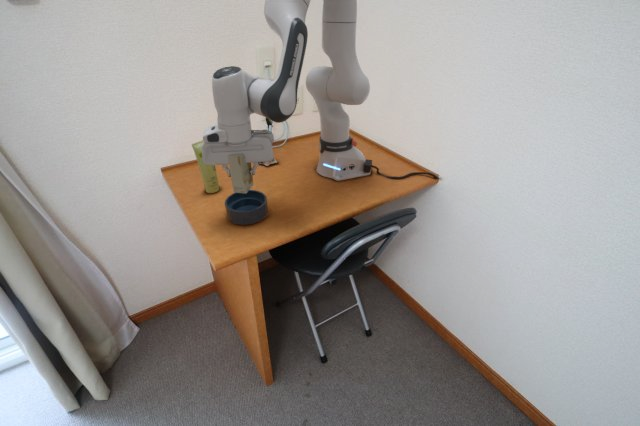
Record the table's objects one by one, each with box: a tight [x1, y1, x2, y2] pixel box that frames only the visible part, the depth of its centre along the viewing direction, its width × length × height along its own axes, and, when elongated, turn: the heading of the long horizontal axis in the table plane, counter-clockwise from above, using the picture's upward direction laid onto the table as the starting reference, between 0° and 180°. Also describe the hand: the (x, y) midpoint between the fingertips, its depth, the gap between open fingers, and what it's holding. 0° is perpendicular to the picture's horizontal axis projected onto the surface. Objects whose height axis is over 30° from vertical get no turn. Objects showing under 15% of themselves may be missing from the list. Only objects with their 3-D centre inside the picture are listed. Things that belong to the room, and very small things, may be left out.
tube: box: [191, 139, 220, 194], centre depth 111 cm, size 6×5×20 cm
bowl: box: [224, 189, 269, 226], centre depth 102 cm, size 13×13×6 cm
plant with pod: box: [258, 117, 279, 167], centre depth 131 cm, size 8×11×20 cm
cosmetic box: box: [228, 155, 254, 194], centre depth 95 cm, size 6×4×12 cm
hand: (241, 175), depth 96 cm, fingers closed on cosmetic box, 5 cm apart
